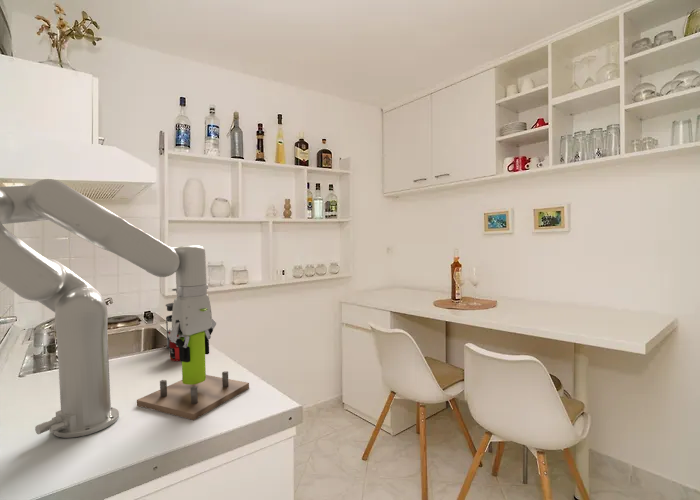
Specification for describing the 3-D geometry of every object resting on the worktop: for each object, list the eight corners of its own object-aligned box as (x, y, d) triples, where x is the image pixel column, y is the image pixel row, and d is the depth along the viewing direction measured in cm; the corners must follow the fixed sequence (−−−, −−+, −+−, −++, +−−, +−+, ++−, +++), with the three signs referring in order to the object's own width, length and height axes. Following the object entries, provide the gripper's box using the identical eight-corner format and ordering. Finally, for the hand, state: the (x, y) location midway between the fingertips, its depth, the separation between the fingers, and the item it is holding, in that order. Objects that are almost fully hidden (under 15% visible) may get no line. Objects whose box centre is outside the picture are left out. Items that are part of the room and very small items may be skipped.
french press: (195, 346, 148) (193, 288, 147) (169, 351, 142) (166, 291, 141) (188, 339, 157) (186, 285, 156) (163, 344, 152) (161, 288, 151)
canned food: (171, 356, 137) (170, 326, 136) (195, 353, 139) (194, 324, 138) (168, 362, 129) (166, 331, 129) (193, 360, 132) (191, 329, 131)
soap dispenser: (202, 385, 98) (201, 309, 98) (178, 384, 99) (176, 309, 98) (213, 376, 104) (211, 305, 104) (189, 376, 105) (187, 305, 104)
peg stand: (193, 420, 89) (192, 397, 88) (136, 405, 97) (135, 384, 97) (249, 387, 107) (248, 369, 106) (197, 377, 115) (196, 360, 115)
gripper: (205, 286, 110) (208, 346, 111) (153, 296, 94) (157, 366, 95) (225, 287, 107) (228, 349, 108) (175, 297, 91) (178, 370, 92)
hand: (194, 356), depth 101 cm, fingers closed on soap dispenser, 5 cm apart
